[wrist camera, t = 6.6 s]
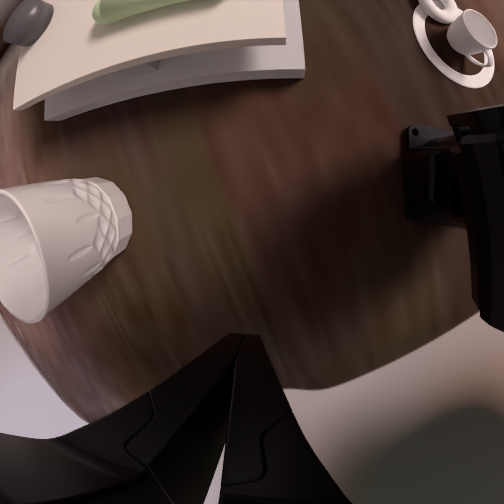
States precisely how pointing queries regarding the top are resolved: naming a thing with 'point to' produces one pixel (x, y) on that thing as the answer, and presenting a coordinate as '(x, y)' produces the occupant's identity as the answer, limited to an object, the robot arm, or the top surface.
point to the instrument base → (187, 72)
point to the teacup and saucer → (458, 38)
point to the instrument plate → (126, 36)
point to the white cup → (57, 240)
